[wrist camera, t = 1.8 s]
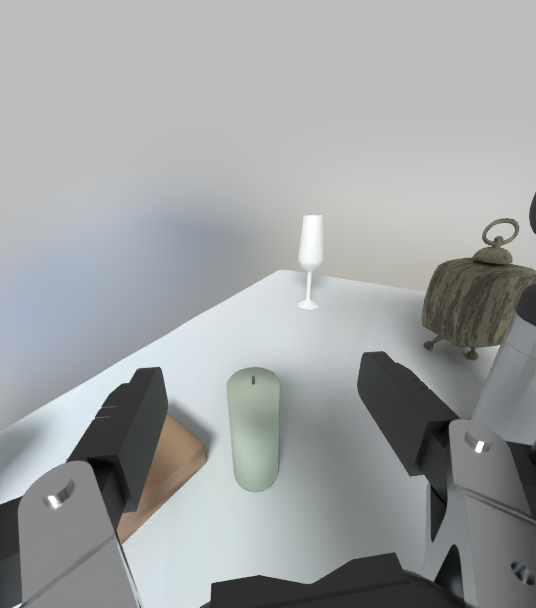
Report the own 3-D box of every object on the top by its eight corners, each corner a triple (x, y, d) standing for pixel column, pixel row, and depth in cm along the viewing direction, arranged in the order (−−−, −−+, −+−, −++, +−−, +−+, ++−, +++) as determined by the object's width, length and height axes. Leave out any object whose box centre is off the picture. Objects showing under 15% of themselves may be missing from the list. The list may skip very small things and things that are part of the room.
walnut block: (159, 419, 35) (155, 403, 34) (206, 462, 29) (203, 444, 28) (74, 478, 28) (66, 459, 27) (115, 550, 22) (107, 530, 21)
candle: (253, 440, 32) (250, 355, 27) (287, 464, 29) (290, 373, 24) (224, 472, 28) (214, 380, 23) (259, 502, 25) (256, 405, 20)
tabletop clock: (470, 337, 55) (512, 215, 45) (515, 361, 47) (579, 219, 37) (412, 345, 52) (445, 217, 42) (451, 373, 44) (502, 222, 34)
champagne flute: (292, 307, 71) (295, 216, 61) (300, 299, 76) (304, 214, 67) (316, 311, 68) (323, 216, 59) (322, 302, 74) (329, 215, 64)
